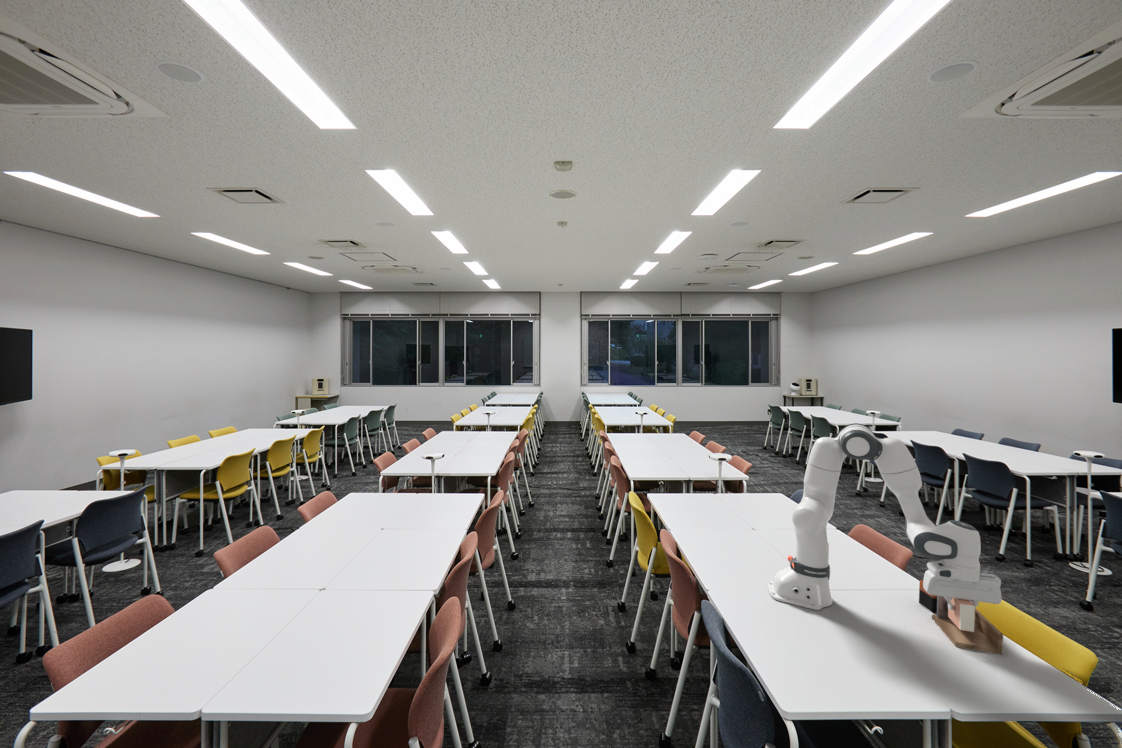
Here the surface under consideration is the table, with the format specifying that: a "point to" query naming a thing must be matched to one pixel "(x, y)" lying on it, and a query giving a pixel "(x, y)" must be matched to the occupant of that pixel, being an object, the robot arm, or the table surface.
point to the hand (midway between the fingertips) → (960, 610)
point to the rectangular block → (962, 614)
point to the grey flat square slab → (942, 608)
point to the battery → (927, 599)
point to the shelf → (973, 634)
